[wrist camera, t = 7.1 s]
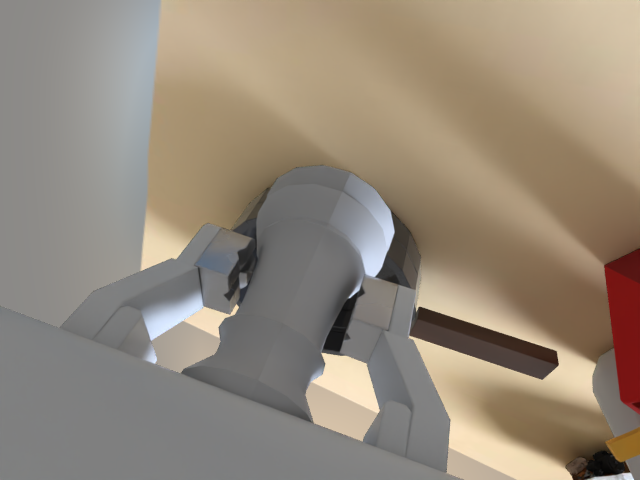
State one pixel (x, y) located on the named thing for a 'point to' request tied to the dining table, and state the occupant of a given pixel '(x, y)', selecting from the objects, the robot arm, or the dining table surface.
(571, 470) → the white tray with chunks
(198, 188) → the dining table surface
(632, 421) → the salt shaker
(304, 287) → the rook chess piece
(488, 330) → the pan handle
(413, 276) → the pan
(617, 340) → the french fries
